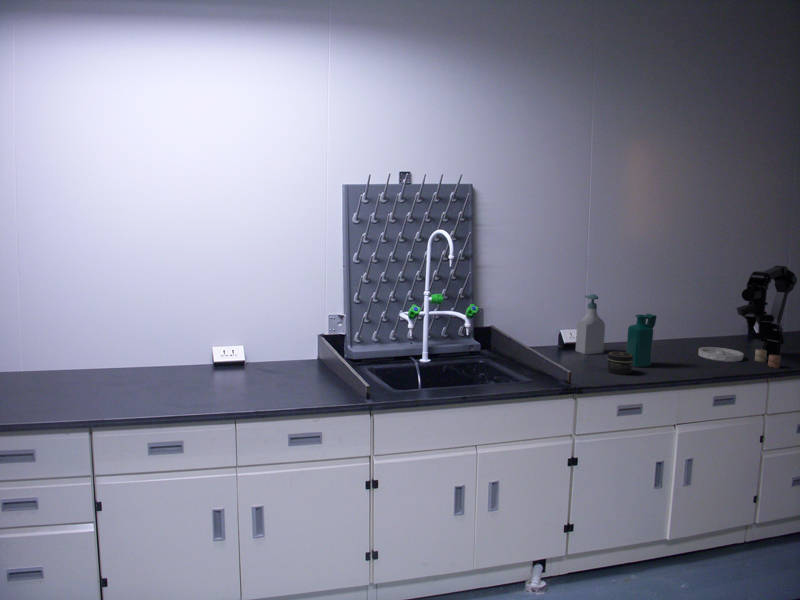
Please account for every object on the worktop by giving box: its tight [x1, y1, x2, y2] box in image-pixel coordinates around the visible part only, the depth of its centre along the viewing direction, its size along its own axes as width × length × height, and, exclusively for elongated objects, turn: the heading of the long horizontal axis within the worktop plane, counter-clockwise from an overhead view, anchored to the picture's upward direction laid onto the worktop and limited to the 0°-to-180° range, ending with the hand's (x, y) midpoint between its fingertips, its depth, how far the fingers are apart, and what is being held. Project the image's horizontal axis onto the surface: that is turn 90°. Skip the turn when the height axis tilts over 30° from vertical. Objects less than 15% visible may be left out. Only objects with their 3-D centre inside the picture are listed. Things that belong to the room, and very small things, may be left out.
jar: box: [606, 351, 633, 376], centre depth 258 cm, size 10×10×8 cm
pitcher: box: [625, 313, 657, 368], centre depth 270 cm, size 10×8×22 cm
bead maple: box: [754, 348, 767, 363], centre depth 284 cm, size 4×4×5 cm
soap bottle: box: [575, 293, 606, 355], centre depth 293 cm, size 11×8×27 cm
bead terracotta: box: [767, 355, 782, 369], centre depth 273 cm, size 4×4×5 cm
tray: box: [697, 346, 745, 363], centre depth 290 cm, size 18×18×3 cm
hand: (755, 333), depth 284 cm, fingers open, 9 cm apart
